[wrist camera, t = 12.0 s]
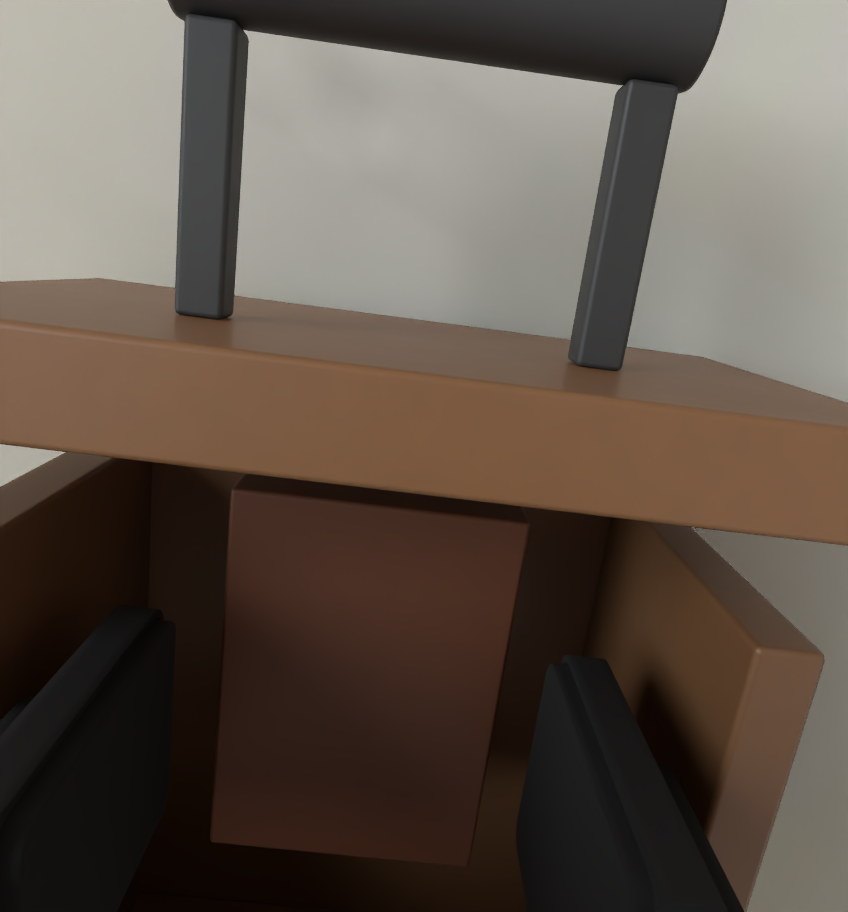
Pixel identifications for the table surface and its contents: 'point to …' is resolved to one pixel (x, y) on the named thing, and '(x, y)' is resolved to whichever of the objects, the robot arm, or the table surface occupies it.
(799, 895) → the table surface
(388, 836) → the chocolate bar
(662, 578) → the drawer
